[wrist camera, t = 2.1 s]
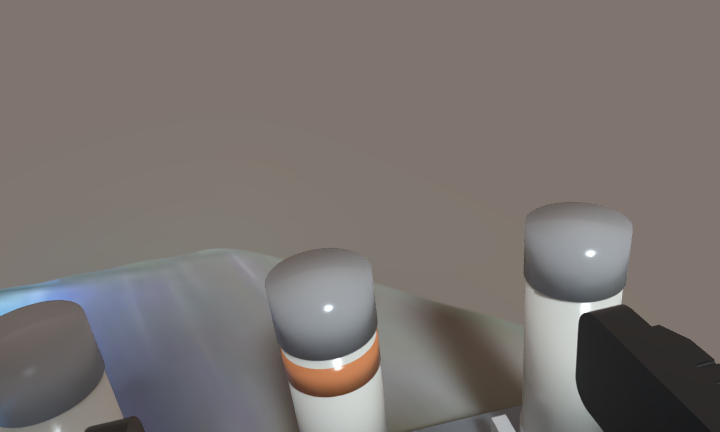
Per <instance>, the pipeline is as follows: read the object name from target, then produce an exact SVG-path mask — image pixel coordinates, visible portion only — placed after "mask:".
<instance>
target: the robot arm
mask: <svg viewBox="0 0 720 432" xmlns="http://www.w3.org/2000/svg"><path fill="white" fill-rule="evenodd" d="M575 379H576V386H577V390H578V393H579V396H580V398H581V401H582V403H583V405H584V406H585V408H586V410H587V411H588V412H589V414H590V415H591V416H592V418H593V419H594V420H595V421H596V423H597V424H598V425H599V427H600V428H601V429H602V430H603V432H720V364H716V363H715V361H714V359H713V358H712V357H711V356H709V355H708V354H707V353H706V352H705V351H703V350H702V349H701V348H700V347H699V346H697V345H696V344H695V343H694V342H692V341H691V340H690V339H688V338H686V337H684V336H681V335H680V334H677V333H675V332H673V331H671V330H669V329H667V328H665V327H663V326H660V325H657V326H653V327H652V326H650V325H649V324H648V323H647V322H646V321H645V320H644V319H642V318H641V317H640V316H639V315H638V314H637V313H636V312H634V311H633V310H632V309H631V308H629V307H628V306H626V305H623V304H621V305H616V306H611V307H607V308H603V309H599V310H594V311H590V312H586V313H583V314H582V315H581V316H580V318H579V323H578V338H577V356H576V373H575ZM84 432H145V431H144V429H143V426H142V424H141V422H140V420H139V419H138V418H137V417H136V416H133V417H128V418H124V419H120V420H115V421H111V422H107V423H102V424H98V425H94V426H90V427H88V428H87V429H86V430H85V431H84Z"/></svg>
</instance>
